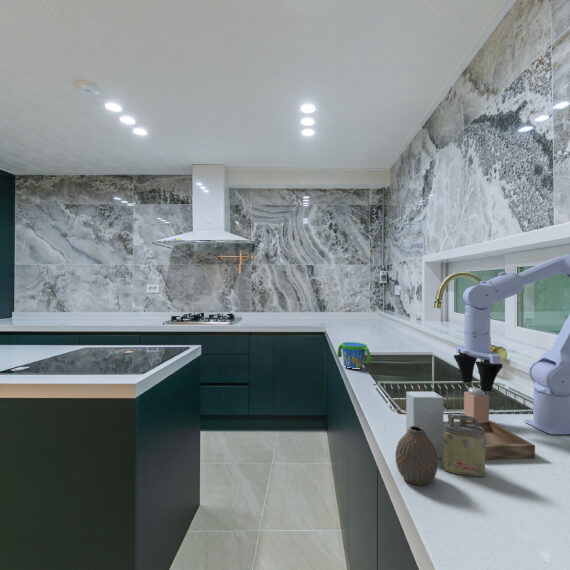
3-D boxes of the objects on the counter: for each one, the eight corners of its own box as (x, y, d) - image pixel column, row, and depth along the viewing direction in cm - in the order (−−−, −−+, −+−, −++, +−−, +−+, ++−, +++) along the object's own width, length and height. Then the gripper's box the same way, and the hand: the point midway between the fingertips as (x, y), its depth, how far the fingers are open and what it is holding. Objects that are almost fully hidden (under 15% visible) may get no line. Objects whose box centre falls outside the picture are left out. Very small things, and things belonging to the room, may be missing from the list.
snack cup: (376, 370, 143) (376, 345, 143) (359, 373, 137) (359, 347, 137) (348, 363, 155) (348, 340, 156) (331, 366, 149) (331, 342, 149)
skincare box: (433, 448, 72) (434, 391, 72) (443, 458, 68) (444, 397, 68) (404, 448, 72) (405, 390, 72) (413, 458, 68) (414, 397, 68)
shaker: (478, 418, 90) (478, 386, 90) (488, 424, 86) (489, 391, 86) (463, 418, 90) (464, 387, 90) (473, 424, 86) (474, 391, 86)
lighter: (482, 469, 64) (483, 415, 64) (488, 480, 61) (489, 422, 61) (440, 463, 66) (441, 410, 66) (444, 473, 63) (444, 417, 63)
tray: (490, 431, 82) (490, 420, 82) (534, 458, 69) (535, 445, 69) (437, 432, 81) (437, 421, 81) (473, 459, 68) (473, 446, 68)
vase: (390, 468, 64) (391, 420, 64) (428, 469, 64) (429, 421, 64) (402, 489, 57) (402, 436, 57) (444, 491, 57) (445, 437, 57)
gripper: (446, 329, 95) (445, 379, 95) (480, 336, 81) (479, 395, 81) (470, 329, 96) (469, 379, 96) (509, 336, 81) (508, 395, 81)
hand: (476, 386), depth 88 cm, fingers open, 7 cm apart
